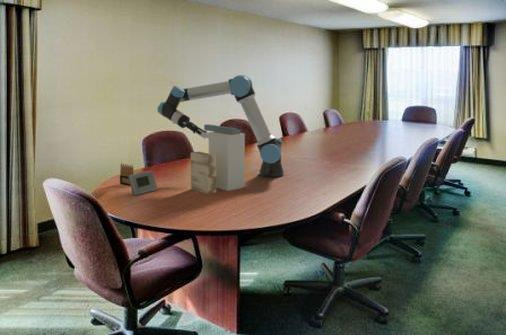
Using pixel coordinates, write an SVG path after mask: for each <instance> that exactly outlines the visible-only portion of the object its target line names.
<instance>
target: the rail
mask: <svg viewBox="0 0 506 335" xmlns="http://www.w3.org/2000/svg"><path fill="white" fill-rule="evenodd" d="M203 125H204V126H203V128H204V129H203V130H204V131H207V132H208V131H209V132H214V128H217V129H223V130H230V131H236V130H238V128H236V127H230V126H223V125H215V124H203Z"/></svg>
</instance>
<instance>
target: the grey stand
mask: <svg viewBox="0 0 506 335" xmlns="http://www.w3.org/2000/svg"><path fill="white" fill-rule="evenodd" d="M208 133H209V139H208V153H209V154H214V155H216V189H219V190H223V191H226V192H230V191H234V190H239V189H242V188H243V189H244V188H245V143H246V140H245V132H244V133H243V132H241V130H240V129H237V130H236V131H230V130H223V129H217V128H214V131H209V132H208Z"/></svg>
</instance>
